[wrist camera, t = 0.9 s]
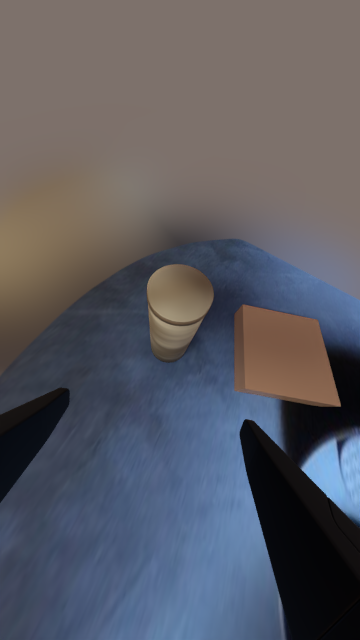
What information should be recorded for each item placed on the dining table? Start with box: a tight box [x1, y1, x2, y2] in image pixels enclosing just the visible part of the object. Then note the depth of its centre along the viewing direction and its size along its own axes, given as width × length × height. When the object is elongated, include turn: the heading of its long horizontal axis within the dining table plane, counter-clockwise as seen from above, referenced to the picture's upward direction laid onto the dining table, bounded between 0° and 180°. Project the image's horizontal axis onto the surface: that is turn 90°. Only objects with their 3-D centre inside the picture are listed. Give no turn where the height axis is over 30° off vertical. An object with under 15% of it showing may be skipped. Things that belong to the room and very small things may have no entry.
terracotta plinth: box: [234, 304, 341, 407], centre depth 24 cm, size 12×12×3 cm
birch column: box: [147, 264, 214, 363], centre depth 18 cm, size 5×5×13 cm
